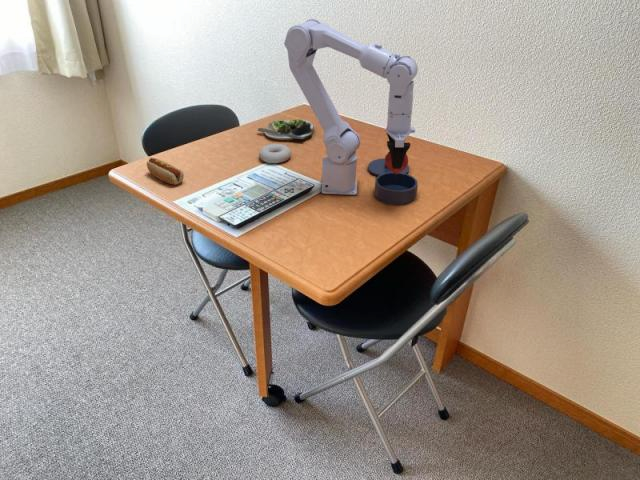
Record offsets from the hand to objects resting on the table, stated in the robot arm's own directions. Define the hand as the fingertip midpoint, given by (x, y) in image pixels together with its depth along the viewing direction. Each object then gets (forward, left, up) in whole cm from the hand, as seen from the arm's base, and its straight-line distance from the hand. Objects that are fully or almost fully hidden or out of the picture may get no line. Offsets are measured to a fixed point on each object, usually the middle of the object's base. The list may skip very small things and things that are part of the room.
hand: (396, 162), depth 123 cm
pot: (+1, +2, -10) cm, 11 cm away
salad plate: (-34, +44, -11) cm, 56 cm away
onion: (0, 0, -3) cm, 3 cm away
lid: (-1, +17, -10) cm, 20 cm away
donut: (-36, +23, -11) cm, 44 cm away
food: (-65, +6, -11) cm, 66 cm away
